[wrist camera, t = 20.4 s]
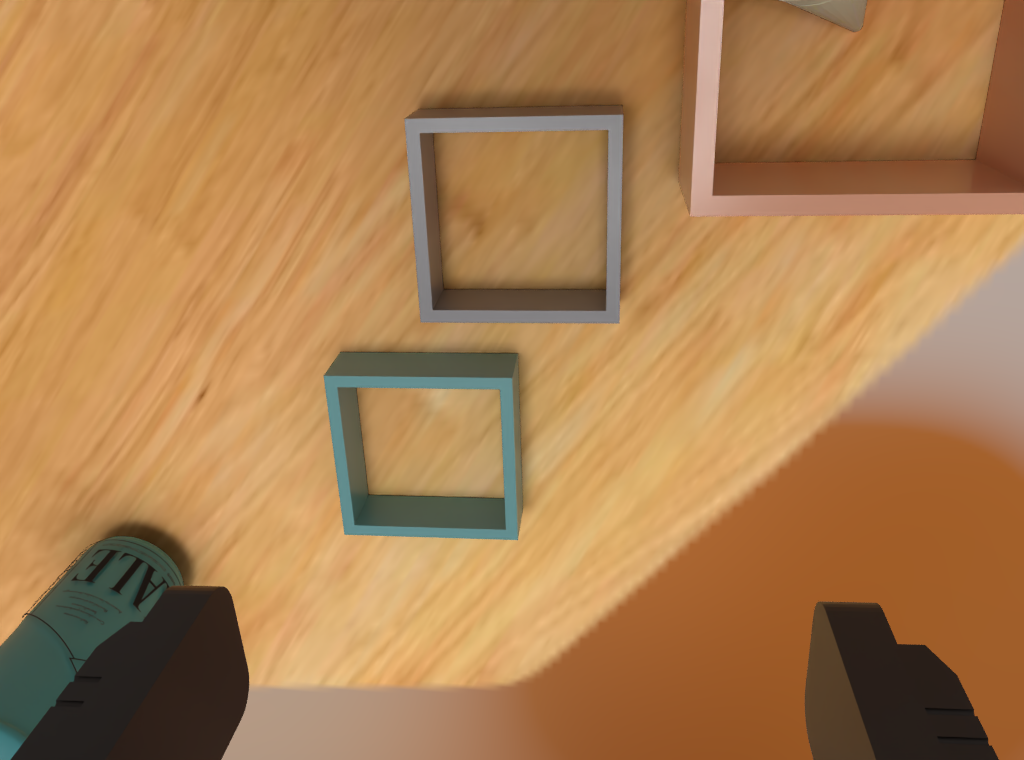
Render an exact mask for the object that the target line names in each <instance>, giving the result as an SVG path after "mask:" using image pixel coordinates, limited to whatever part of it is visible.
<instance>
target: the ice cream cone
mask: <svg viewBox="0 0 1024 760" xmlns="http://www.w3.org/2000/svg"><path fill="white" fill-rule="evenodd" d="M780 1H784V2H787V3H789V4H792V5H794V6H796V7H798V8H801V9H803V10H805V11H808V12H810V13H812V14H814V15H817V16H819V17H821V18H823V19H826V20H828V21H830V22H833V23H835V24H837V25H839V26H842V27H844V28H846V29H849V30H851V31H853V32H857V31H859V30H861V28H862V27H863V21H864V15H865V10H866V4H867V0H780Z"/></svg>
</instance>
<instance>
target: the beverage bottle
mask: <svg viewBox="0 0 1024 760" xmlns="http://www.w3.org/2000/svg"><path fill="white" fill-rule="evenodd" d="M91 545H92V544H91ZM86 550H87V549H86ZM86 550H85V551H86ZM81 553H83V552H81ZM81 553H80V554H81ZM80 554H79V555H80ZM79 555H78V556H79ZM78 556H77V557H78ZM77 559H78V558H77ZM77 559H75V560H76V561H77ZM75 560H74V561H73V562H75ZM71 564H72V563H71ZM73 564H74V563H73ZM69 566H70V565H69ZM70 567H71V568H70ZM70 567H69V568H70V569H69V570H67V569H68V567H67V568H66V570H65V571H67V573H66V574H65V575H64V576H63V577H62V578H61V579H60V578H59V577H58V578H59V579H60V580H59V581H58V582H57V583H56V585H55V586H54V587H53V588H52V589H51V590H50V589H49V590H50V591H49V592H48V593H47V594H46V595H45V597H44V598H43V599H42V600H41V601H40V602H39V603H38V604H37V605H36V606H35V607H34V609H33V610H32V611H31V612H30V613H26V614H27V616H26V617H25V619H24V620H23V621H22V622H21V624H20V625H19V626H18V628H17V629H16V630H15V631H14V632H13V633H12V634H11V635H10V636H9V637H8V639H7V640H6V641H5V642H4V643H3V644H2V645H1V646H0V760H10V759H11V758H12V757H13V756H14V754H15V753H16V752H17V750H18V749H19V748H20V746H21V745H22V744H23V742H24V741H25V740H26V739H27V737H28V736H29V735H30V733H31V732H32V731H33V729H34V728H35V727H36V725H37V724H38V723H39V722H40V720H41V719H42V718H43V716H44V715H45V714H46V712H47V711H48V710H49V708H50V707H51V706H53V707H55V705H56V699H57V698H58V697H59V695H60V694H61V693H62V691H63V690H64V689H65V688H66V686H67V685H68V684H69V682H73V681H74V678H75V677H74V676H75V674H76V673H77V672H78V671H79V669H80V668H81V667H82V665H83V664H84V663H85V661H86V660H87V659H88V657H89V656H90V655H91V653H92V652H93V651H94V650H95V648H96V647H97V646H98V645H100V644H101V643H102V642H104V641H105V640H106V639H108V638H109V637H110V636H112V635H113V634H114V633H116V632H117V631H118V630H120V629H121V628H122V627H124V626H125V625H126V624H128V623H129V622H130V621H131V622H142V621H143V620H144V619H145V617H146V616H147V614H148V613H149V612H150V610H151V609H152V607H153V606H154V605H155V603H156V602H157V601H158V599H159V598H160V596H161V595H162V594H163V592H164V591H165V590H166V589H167V588H169V587H171V586H184V584H183V579H182V576H181V573H180V571H179V569H178V567H177V566H176V564H175V563H174V562H173V560H172V559H171V558H170V557H169V556H168V555H167V554H166V553H165V552H164V551H162V550H161V549H160V548H158V547H156V546H155V545H153V544H151V543H149V542H147V541H144V540H142V539H138V538H135V537H128V536H116V537H110V538H107V539H105V540H102V541H99V542H96V544H94V545H93V546H91V547H90V548H89V549H88V550H87V551H86V552H85V553H84V554H82V556H81V557H80V558H79V559H78V561H77V562H76V563H75V564H74V565H72V566H70ZM65 571H64V572H65ZM64 572H63V573H64ZM63 573H62V574H63ZM57 580H58V579H57ZM57 580H56V581H57ZM56 581H55V582H56ZM55 582H54V583H53V585H54V584H55ZM50 587H51V585H50ZM46 592H47V591H46ZM46 592H45V593H46ZM45 593H44V594H45ZM44 594H43V595H44ZM43 595H41V596H43ZM39 598H40V597H39ZM41 598H42V597H41ZM41 598H40V599H41ZM37 601H38V600H37ZM37 601H36V603H37ZM36 603H34V604H33V606H34V605H35V604H36ZM33 606H32V607H33ZM26 614H24V616H25V615H26ZM24 616H22V618H23V617H24Z"/></svg>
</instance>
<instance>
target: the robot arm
mask: <svg viewBox="0 0 1024 760" xmlns="http://www.w3.org/2000/svg"><path fill="white" fill-rule="evenodd" d="M74 677H75V678H74V681H73V682H69V684H68V685H67V686H66V688H65V689H64V690H63V691H62V693H61V694H60V695H59V697H58V698H57V699H56V705H55V707H53V706H51V707H50V708H49V710H48V711H47V712H46V714H45V715H44V716H43V718H42V719H41V720H40V722H39V723H38V724H37V725H36V727H35V728H34V729H33V731H32V732H31V733H30V735H29V736H28V737H27V739H26V740H25V741H24V742H23V744H22V745H21V746H20V748H19V749H18V750H17V752H16V753H15V754H14V756H13V757H12V758H11V759H10V760H221V759H222V757H223V755H224V753H225V751H226V749H227V747H228V745H229V743H230V741H231V739H232V737H233V735H234V732H235V731H236V729H237V727H238V725H239V723H240V721H241V718H242V716H243V714H244V711H245V707H246V704H247V698H248V692H249V672H248V666H247V662H246V658H245V653H244V649H243V644H242V640H241V635H240V631H239V626H238V622H237V617H236V613H235V608H234V604H233V600H232V596H231V594H230V592H229V591H228V589H227V588H225V587H217V586H171V587H169V588H167V589H166V590H165V591H164V592H163V594H162V595H161V596H160V598H159V599H158V601H157V602H156V603H155V605H154V606H153V607H152V609H151V610H150V612H149V613H148V614H147V616H146V617H145V619H144V620H143V621H142V622H131V621H130V622H129V623H128V624H126V625H125V626H124V627H122V628H121V629H120V630H118V631H117V632H116V633H114V634H113V635H112V636H110V637H109V638H108V639H106V640H105V641H104V642H102V643H101V644H100V645H98V646H97V647H96V648H95V650H94V651H93V652H92V653H91V655H90V656H89V657H88V659H87V660H86V661H85V663H84V664H83V665H82V667H81V668H80V669H79V671H78V672H77V673H76V674H75V676H74ZM805 716H806V726H807V733H808V739H809V743H810V747H811V751H812V755H813V759H814V760H999V759H998V757H997V755H996V753H995V751H994V749H993V747H992V746H989V744H988V737H987V735H986V733H985V731H984V729H983V727H982V725H981V723H980V721H979V719H978V717H977V716H974V709H973V707H972V705H971V703H970V701H969V699H968V697H967V695H966V693H965V691H964V689H963V687H962V685H961V683H960V681H959V678H958V676H957V675H956V674H955V673H954V672H953V671H952V670H951V669H950V668H949V667H947V665H946V664H945V663H943V662H942V661H941V660H940V659H939V658H938V657H937V656H936V655H935V654H934V653H933V652H932V651H931V650H930V649H929V648H927V647H926V646H925V645H905V644H903V645H902V644H897V642H896V640H895V638H894V635H893V633H892V631H891V628H890V626H889V624H888V621H887V619H886V617H885V614H884V612H883V610H882V608H881V607H880V605H879V604H877V603H857V602H818V603H817V604H816V606H815V610H814V617H813V625H812V634H811V643H810V652H809V661H808V670H807V679H806V689H805Z"/></svg>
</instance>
